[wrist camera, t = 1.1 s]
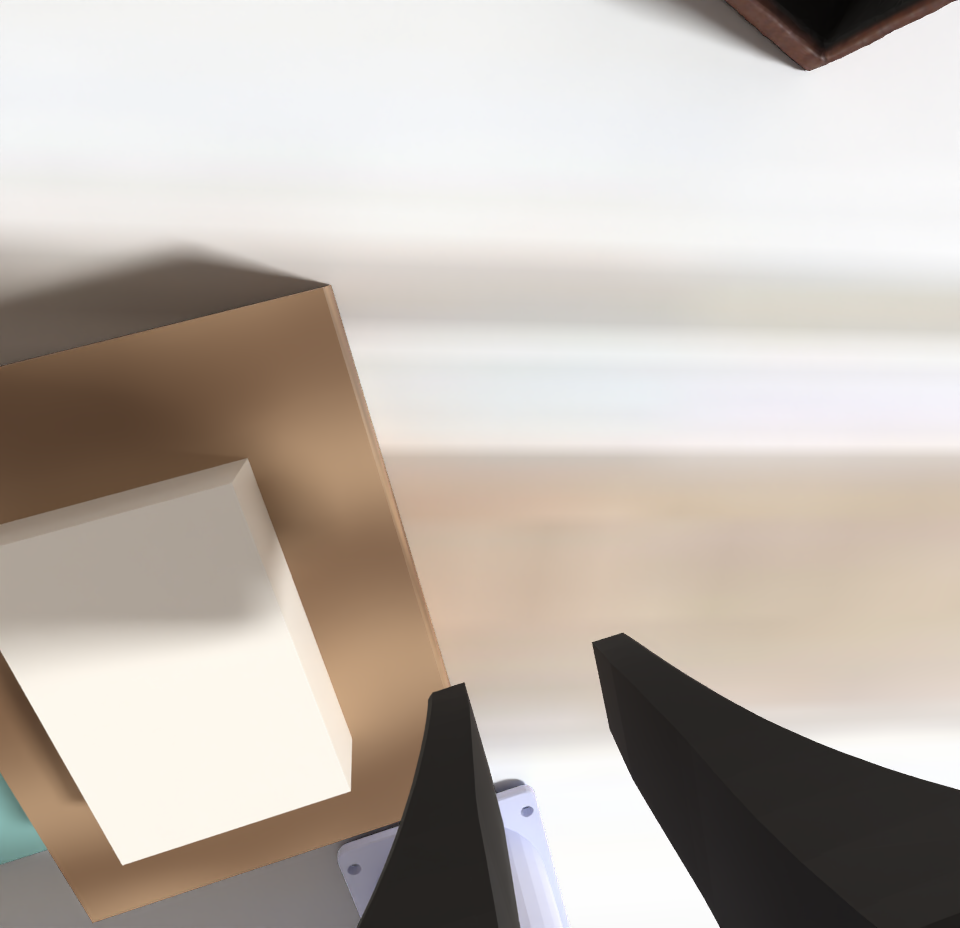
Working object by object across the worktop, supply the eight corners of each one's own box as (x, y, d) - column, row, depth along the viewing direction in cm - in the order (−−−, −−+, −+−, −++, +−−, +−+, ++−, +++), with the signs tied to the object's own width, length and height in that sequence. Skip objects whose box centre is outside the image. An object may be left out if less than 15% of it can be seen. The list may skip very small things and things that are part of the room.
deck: (458, 713, 24) (476, 795, 20) (137, 815, 23) (92, 923, 19) (331, 285, 19) (322, 287, 15) (-92, 388, 18) (-217, 420, 14)
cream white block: (352, 738, 19) (351, 791, 17) (147, 803, 18) (122, 865, 16) (247, 458, 16) (231, 483, 14) (0, 524, 15) (-52, 560, 13)
